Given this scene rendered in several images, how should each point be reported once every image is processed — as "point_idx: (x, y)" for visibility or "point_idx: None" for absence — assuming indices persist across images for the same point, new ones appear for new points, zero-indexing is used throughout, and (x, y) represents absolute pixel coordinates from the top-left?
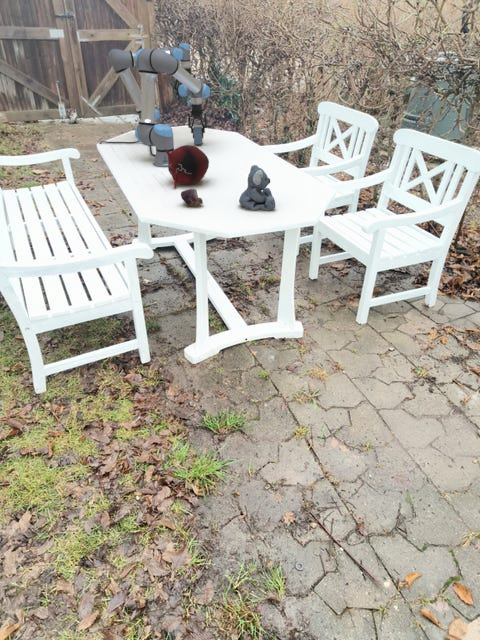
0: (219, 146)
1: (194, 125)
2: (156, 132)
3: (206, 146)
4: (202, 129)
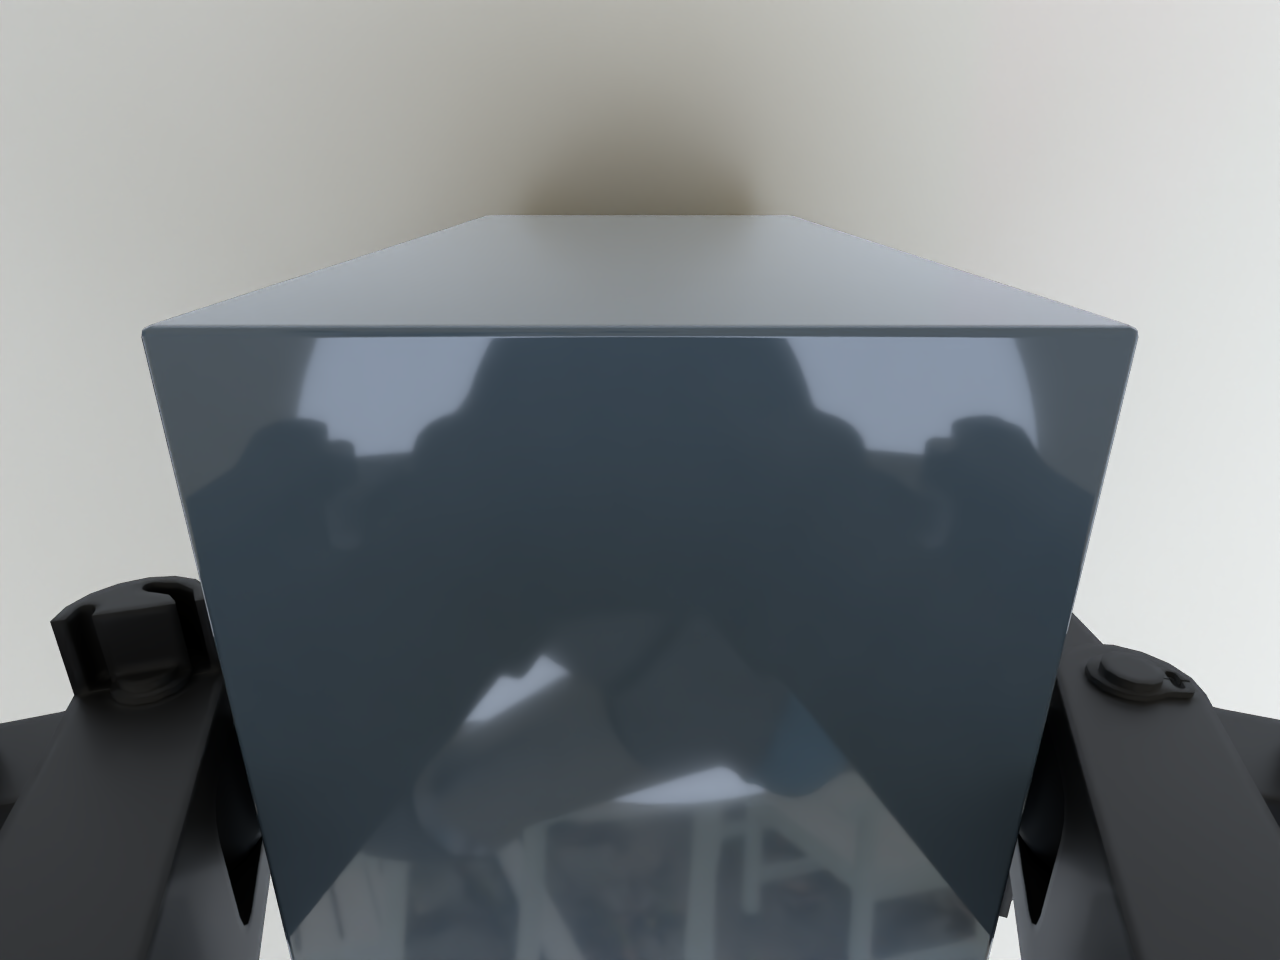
0: (1222, 607)
1: (316, 697)
2: None
3: None
4: None
